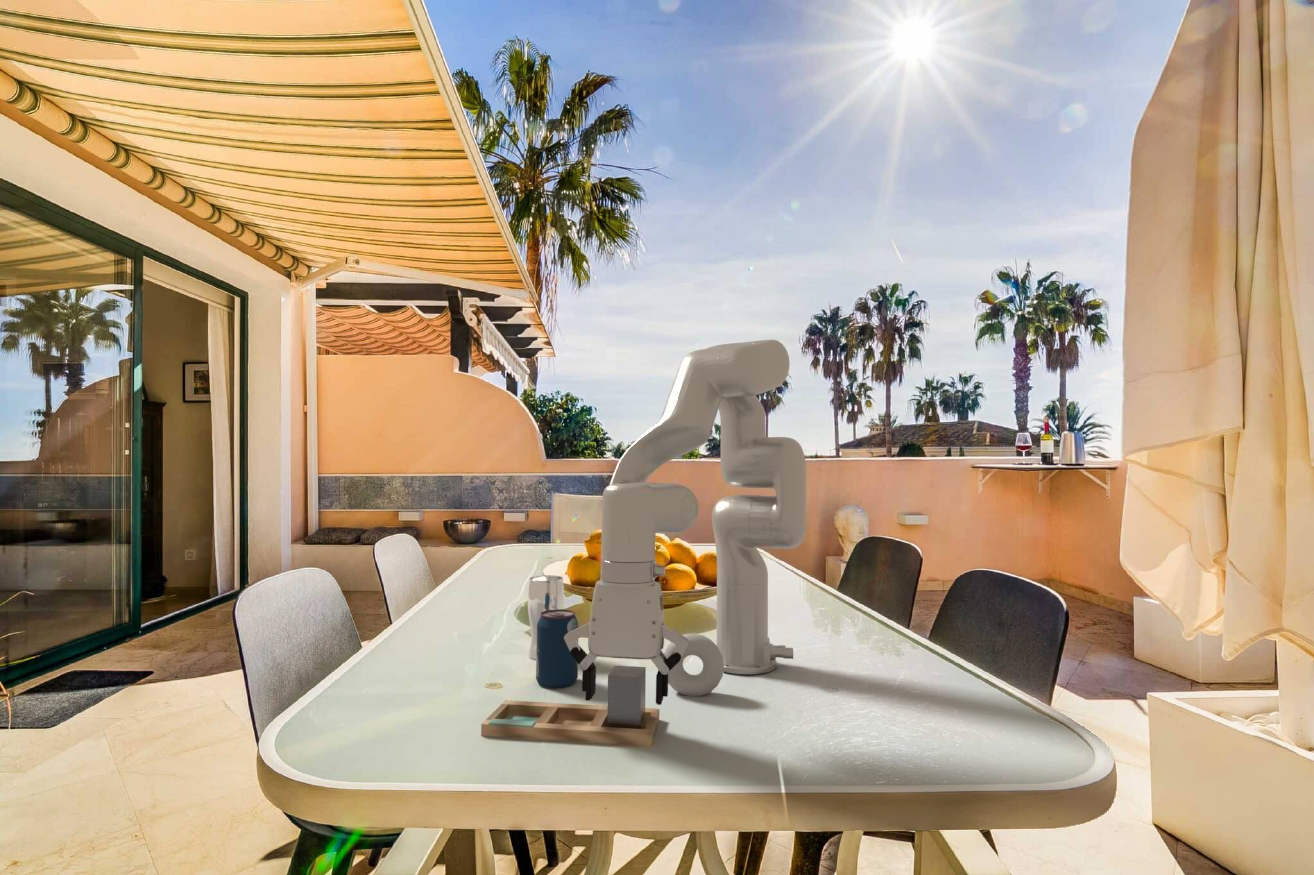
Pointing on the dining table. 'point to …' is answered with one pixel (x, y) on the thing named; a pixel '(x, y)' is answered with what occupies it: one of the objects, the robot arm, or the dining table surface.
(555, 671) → the soda can
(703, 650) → the donut
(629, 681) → the block
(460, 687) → the dining table surface
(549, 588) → the beer glass
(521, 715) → the tray
